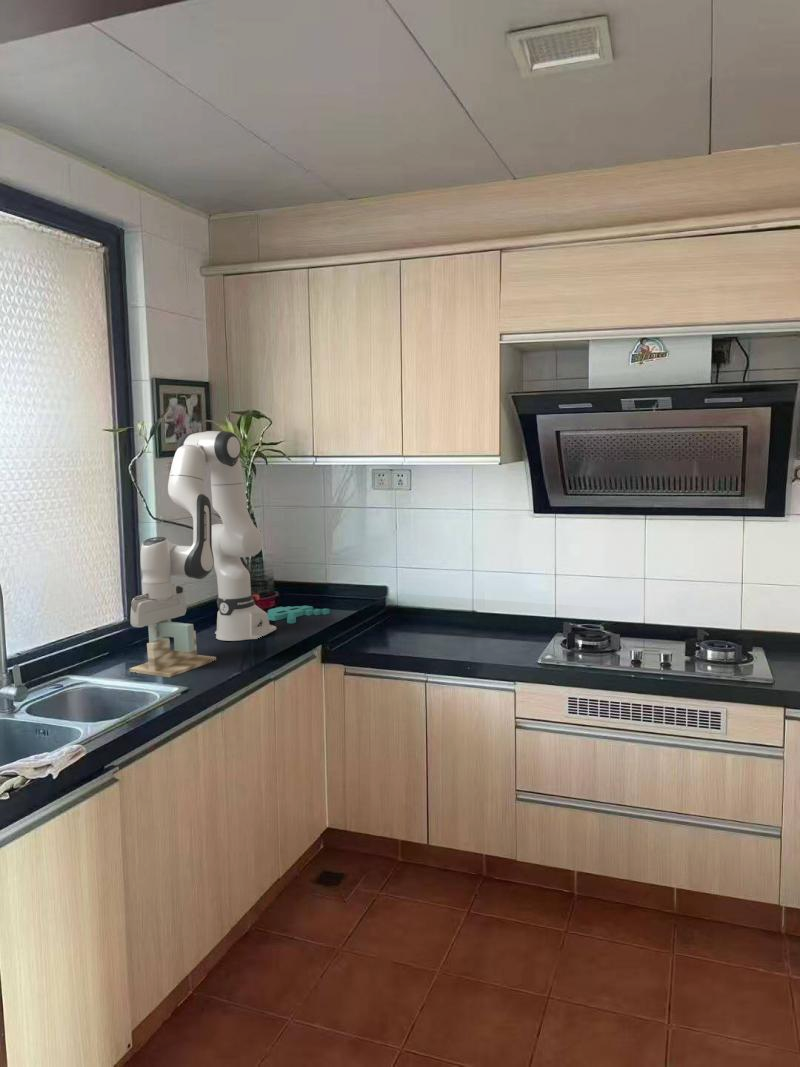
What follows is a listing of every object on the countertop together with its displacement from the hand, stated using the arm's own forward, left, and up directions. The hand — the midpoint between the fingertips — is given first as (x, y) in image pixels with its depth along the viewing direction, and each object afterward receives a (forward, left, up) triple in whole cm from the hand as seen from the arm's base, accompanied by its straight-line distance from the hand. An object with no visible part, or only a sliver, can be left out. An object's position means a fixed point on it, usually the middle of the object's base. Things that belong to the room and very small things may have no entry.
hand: (160, 635), depth 257 cm
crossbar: (0, +5, -4) cm, 6 cm away
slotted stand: (0, +5, -9) cm, 10 cm away
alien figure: (-72, -3, -10) cm, 73 cm away
